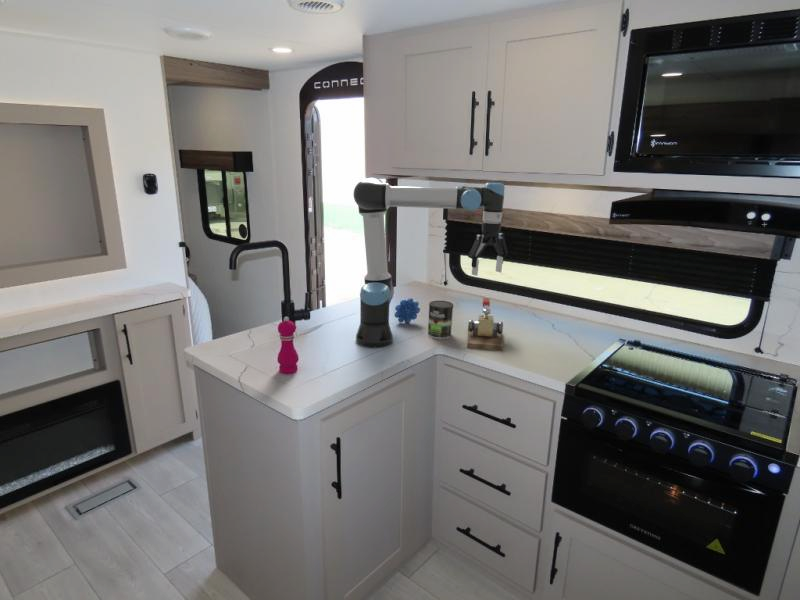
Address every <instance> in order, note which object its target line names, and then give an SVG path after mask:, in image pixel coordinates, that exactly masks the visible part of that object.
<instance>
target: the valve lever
mask: <svg viewBox="0 0 800 600" xmlns="http://www.w3.org/2000/svg"><path fill="white" fill-rule="evenodd" d="M490 303H491V301H490V298H488V297H486V298H485V297H483V298H482V307H483V309H482V314H483V315H484V314H488V315H489V314H491V311H492V310H491V308H490V305H491V304H490Z"/></svg>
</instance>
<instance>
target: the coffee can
mask: <svg viewBox="0 0 800 600" xmlns="http://www.w3.org/2000/svg"><path fill="white" fill-rule="evenodd" d="M453 310H454V304H453V302H451V301H447V300H432V301H429V304H428V324H427V325H428V326H427V336H428V337H429V338H432V339H436V340H447V339H450V338H451V337H452V325H453V312H454V311H453Z"/></svg>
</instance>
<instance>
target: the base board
mask: <svg viewBox="0 0 800 600" xmlns="http://www.w3.org/2000/svg"><path fill="white" fill-rule="evenodd" d="M466 339H467V340H466V341H467V342H466V344H467V345H466V348H467V349H479V350H490V351H491V350H492V351H503V347H504V344H503V339H502V334H498V333H497V338H492V337H491V336H477V337H473V331H472V332H469V331H468V330H467V338H466Z"/></svg>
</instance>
